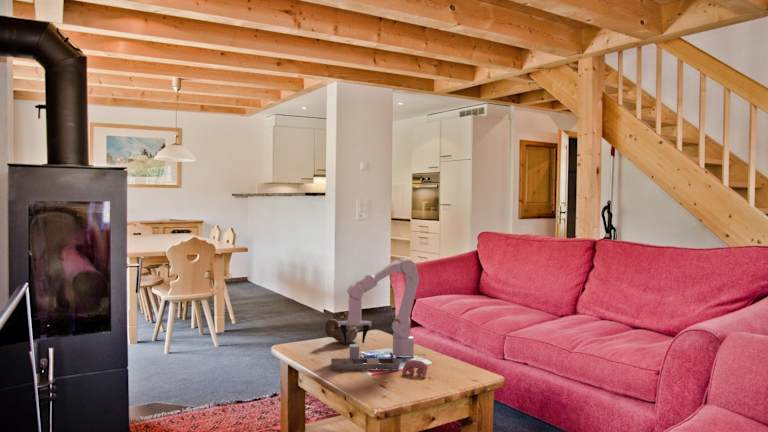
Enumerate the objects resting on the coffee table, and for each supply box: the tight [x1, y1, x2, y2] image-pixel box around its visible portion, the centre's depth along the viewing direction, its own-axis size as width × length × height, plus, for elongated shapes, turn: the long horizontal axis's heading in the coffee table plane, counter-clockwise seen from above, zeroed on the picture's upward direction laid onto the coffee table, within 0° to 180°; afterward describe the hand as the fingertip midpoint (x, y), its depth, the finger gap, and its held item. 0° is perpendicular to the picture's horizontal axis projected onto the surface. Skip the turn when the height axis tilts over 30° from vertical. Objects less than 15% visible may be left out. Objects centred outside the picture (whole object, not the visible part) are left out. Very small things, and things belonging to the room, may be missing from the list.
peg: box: [349, 343, 360, 358], centre depth 245 cm, size 4×4×6 cm
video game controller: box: [401, 359, 428, 379], centre depth 226 cm, size 10×5×7 cm, turn 71°
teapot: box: [324, 311, 363, 345], centre depth 268 cm, size 21×12×15 cm, turn 130°
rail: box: [330, 357, 400, 372], centre depth 234 cm, size 28×8×2 cm, turn 95°
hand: (354, 342), depth 245 cm, fingers open, 7 cm apart
